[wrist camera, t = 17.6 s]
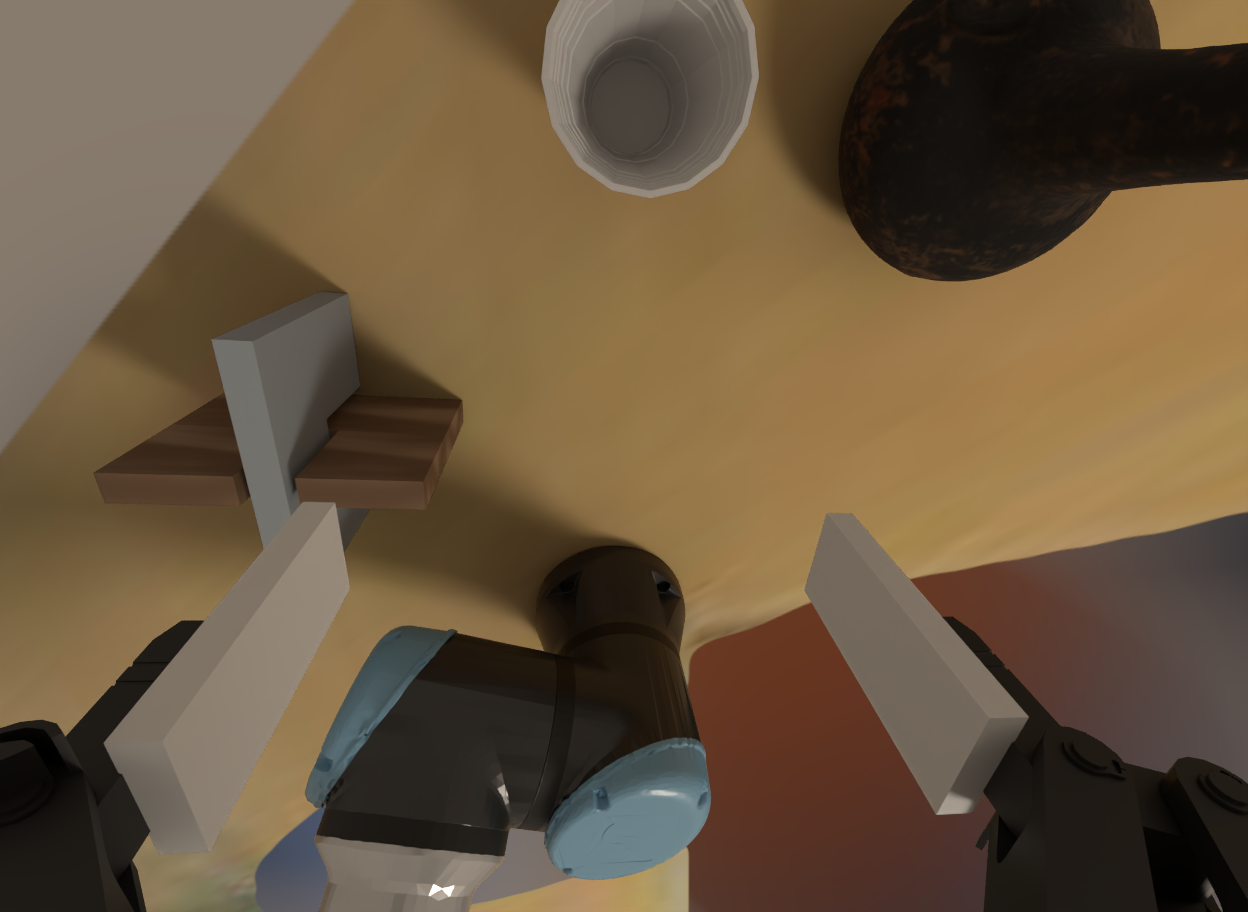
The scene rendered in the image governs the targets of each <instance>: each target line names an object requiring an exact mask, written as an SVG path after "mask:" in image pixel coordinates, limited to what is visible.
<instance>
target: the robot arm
mask: <svg viewBox="0 0 1248 912" xmlns="http://www.w3.org/2000/svg"><path fill="white" fill-rule="evenodd" d="M349 589H350V586H349V580H348V574H347V569H346V563H345V557H344V551H343V545H342V539H341V534H340V528H339V522H338V516H337V510H336V504H335V502H302V504H301V505H300V506H299V507H298V508H297V510H296V511H295V512H294V513H293V514H292V516H291V517H290V518H289V519H288V520H287V522H286V523H285V524H284V525H283V527H282V528H281V529H280V530H279V531H278V533H277V534H276V535H275V536H274V537H273V539H272V540H271V541H270V542H269V543H268V545H267V546H266V547H265V548H264V550H263V551H262V552H261V553H260V554H259V556H258V557H257V558H256V559H255V560H254V562H253V563H252V564H251V565H250V566H249V568H248V569H247V570H246V571H245V572H244V574H243V575H242V576H241V577H240V579H239V580H238V581H237V582H236V583H235V585H234V586H233V587H232V588H231V589H230V591H229V592H228V593H227V594H226V595H225V597H224V598H223V599H222V600H221V602H220V603H219V604H218V605H217V606H216V608H215V609H214V610H213V611H212V612H211V614H210V615H209V616H208V617H207V618H206V620H205V621H180V622H179V623H178V624H176V625H175V626H173V627H172V628H170V629H169V630H167V631H166V632H164V633H163V634H161V635H160V636H158V637H157V638H155V639H154V640H153V641H152V642H151V643H150V644H149V645H148V646H147V647H146V648H145V649H144V651H143V652H142V653H141V654H140V655H139V656H138V657H137V658H136V659H135V660H134V662H133V665H132V667H128V668H127V669H126V670H125V672H124V673H123V674H122V675H121V676H120V677H119V678H118V679H117V680H116V684H115V686H111V687H110V688H109V689H108V690H107V691H106V693H105V694H104V695H103V696H102V697H101V698H100V699H99V700H98V701H97V702H96V704H95V705H94V706H93V707H92V708H91V709H90V710H89V711H88V712H87V714H86V715H85V716H84V717H83V718H82V719H81V720H80V721H79V722H78V723H77V725H76V726H75V727H74V728H73V729H72V730H71V731H70V732H69V733H68V735H67V736H66V737H65V736H64V734H63V732H62V731H61V729H60V728H59V726H58V725H57V724H56V723H52V722H49V721H45V720H35V721H25V722H19V723H15V724H12V725H9V726H6V727H3V728H0V912H146V907H145V903H144V898H143V894H142V889H141V885H140V880H139V875H138V871H137V868H136V866H135V865H134V863H133V861H132V859H133V858H134V856H135V855H136V853H137V852H138V850H139V848H140V847H141V845H142V844H143V842H144V841H145V839H146V837H147V836H148V834H149V835H150V837H151V839H152V841H153V843H154V845H155V847H156V849H157V851H158V853H159V855H160V854H179V853H199V852H210V850H211V848H212V846H213V845H214V843H215V841H216V839H217V837H218V835H219V833H220V831H221V830H222V828H223V826H224V824H225V822H226V820H227V818H228V816H229V815H230V813H231V811H232V809H233V807H234V805H235V803H236V801H237V800H238V798H239V796H240V794H241V792H242V790H243V788H244V786H245V785H246V783H247V781H248V779H249V777H250V775H251V773H252V771H253V770H254V768H255V766H256V764H257V762H258V760H259V758H260V756H261V755H262V753H263V751H264V749H265V747H266V745H267V743H268V741H269V740H270V738H271V736H272V734H273V732H274V730H275V728H276V726H277V725H278V723H279V721H280V719H281V717H282V715H283V713H284V711H285V710H286V708H287V706H288V704H289V702H290V700H291V698H292V696H293V695H294V693H295V691H296V689H297V687H298V685H299V683H300V681H301V679H302V678H303V676H304V674H305V672H306V670H307V668H308V666H309V664H310V663H311V661H312V659H313V657H314V655H315V653H316V651H317V649H318V648H319V646H320V644H321V642H322V640H323V638H324V636H325V634H326V633H327V631H328V629H329V627H330V625H331V623H332V621H333V619H334V618H335V616H336V614H337V612H338V610H339V608H340V606H341V604H342V603H343V601H344V599H345V597H346V595H347V593H348V591H349ZM805 592H806V594H807V595H808V597H809V599H810V600H811V602H812V604H813V606H814V607H815V609H816V611H817V612H818V614H819V616H820V618H821V619H822V621H823V623H824V624H825V626H826V628H827V629H828V631H829V633H830V635H831V636H832V638H833V640H834V641H835V643H836V645H837V646H838V648H839V649H840V651H841V653H842V655H843V657H844V658H845V660H846V662H847V663H848V665H849V667H850V668H851V670H852V672H853V674H854V675H855V677H856V679H857V680H858V682H859V684H860V685H861V687H862V689H863V691H864V692H865V694H866V696H867V697H868V699H869V701H870V702H871V704H872V706H873V708H874V709H875V711H876V713H877V715H878V716H879V718H880V719H881V721H882V723H883V725H884V726H885V728H886V730H887V731H888V733H889V735H890V736H891V738H892V740H893V742H894V743H895V745H896V747H897V749H898V750H899V752H900V754H901V755H902V757H903V759H904V760H905V762H906V764H907V766H908V767H909V769H910V771H911V772H912V774H913V776H914V777H915V779H916V781H917V783H918V784H919V786H920V788H921V789H922V791H923V793H924V794H925V796H926V798H927V800H928V801H929V803H930V805H931V806H932V808H933V810H934V812H935V813H936V815H940V814H960V813H972V812H973V810H974V809H975V807H976V805H977V804H978V802H979V800H980V798H981V797H982V795H983V794H985V795H986V796H987V798H988V799H989V801H990V802H991V804H992V805H993V807H994V808H995V810H996V812H995V813H994V815H993V816H992V818H991V820H990V821H989V823H988V824H987V826H986V828H985V829H984V831H983V832H982V834H981V836H980V837H979V839H978V842H977V844H976V847H977V848H979V849H981V850H982V849H983V848H984V846H985V845H986V843H987V842H988V841H989V844H988V858H987V872H986V886H985V899H984V912H1221V910H1220V909H1219V907H1218V905H1217V904H1216V902H1215V900H1214V898H1213V896H1212V893H1213V892H1214V891H1215V893H1216V895H1217V897H1218V899H1219V901H1220V904H1221V907H1222V909H1223V912H1248V784H1247V783H1246V782H1245V781H1244V780H1242V779H1241V778H1239V777H1238V776H1236V775H1235V774H1232V773H1231V772H1229V771H1227V770H1225V769H1224V768H1222V767H1220V766H1217V765H1215V764H1212V763H1210V762H1208V761H1205V760H1202V759H1197V758H1191V757H1185V758H1181V759H1178V760H1177V761H1176V762H1175V763H1174V764H1173V766H1172V767H1171V768H1170V769H1169V771H1168V772H1167V773H1163V772H1159V771H1155V770H1151V769H1147V768H1142V767H1139V766H1135V765H1131V764H1127V763H1124V762H1123V761H1122V760H1121V758H1120V757H1119V756H1118V755H1117V754H1116V753H1115V752H1113V751H1112V750H1111V749H1110V748H1108V747H1107V746H1106V745H1105V744H1103V743H1102V742H1101V741H1099V740H1097V739H1095V738H1094V737H1092V736H1090V735H1088V734H1087V733H1085V732H1082V731H1079V730H1076V729H1073V728H1070V727H1062V726H1060V725H1059V724H1058V723H1057V722H1056V721H1055V720H1054V718H1053V717H1052V716H1051V715H1050V714H1049V713H1048V712H1047V711H1046V710H1045V709H1044V707H1043V706H1042V705H1041V704H1040V703H1039V702H1038V701H1037V700H1036V699H1035V698H1034V697H1033V695H1032V694H1031V693H1030V692H1029V691H1028V690H1027V689H1026V688H1025V687H1024V686H1023V684H1021V682H1020V681H1019V680H1018V679H1017V678H1016V677H1015V676H1014V675H1013V674H1012V672H1010V670H1006V668H1005V665H1004V664H1003V663H1002V661H1000V659H999V658H998V657H997V656H996V655H995V654H992V651H991V649H990V648H989V647H988V646H987V645H986V644H985V643H984V642H983V641H982V640H981V639H980V637H979V636H978V635H977V634H976V633H975V632H974V631H972V630H971V629H969V628H968V627H967V626H965V625H964V624H962V623H961V622H959V621H958V620H957V619H955V618H954V617H942V616H941V615H940V614H939V613H938V612H937V611H936V609H934V607H933V606H932V605H931V604H930V603H929V601H928V600H927V599H926V598H925V597H924V596H923V594H921V592H920V591H919V590H918V589H917V588H916V587H915V585H914V584H913V583H912V582H911V581H910V580H909V578H908V577H907V576H906V575H905V574H904V573H903V571H902V570H901V569H900V568H899V567H898V566H897V565H896V563H895V562H894V561H893V560H892V559H891V558H890V557H889V555H888V554H887V553H886V552H885V551H884V550H883V548H882V547H881V546H880V545H879V544H878V543H877V542H876V540H875V539H874V538H873V537H872V536H871V535H870V533H869V532H868V531H867V530H866V529H865V528H864V527H863V525H862V524H861V523H860V522H859V521H858V520H857V519H856V517H855V516H854V515H853V514H845V513H827V514H826V517H825V521H824V524H823V528H822V531H821V535H820V538H819V542H818V545H817V548H816V552H815V555H814V559H813V562H812V566H811V569H810V573H809V576H808V579H807V583H806V586H805ZM684 622H685V603H684V599H683V595H682V592H681V588H680V585H679V582H678V580H677V578H676V576H675V574H674V573H673V572H672V570H671V569H670V568H669V567H668V566H667V565H666V564H665V563H664V562H663V561H661V560H660V559H658V558H657V557H655V556H653V555H651V554H649V553H647V552H644V551H642V550H638V549H635V548H630V547H622V546H608V547H599V548H594V549H590V550H586V551H583V552H581V553H578V554H576V555H574V556H572V557H570V558H568V559H567V560H565V561H564V562H562V563H561V564H559V565H558V566H557V567H556V568H555V569H554V570H553V571H552V572H551V573H550V574H549V575H548V576H547V578H546V579H545V581H544V582H543V584H542V586H541V588H540V591H539V594H538V598H537V607H536V627H537V632H538V636H539V639H540V641H541V644H542V646H543V649H544V651H540V650H535V649H530V648H525V647H521V646H516V645H511V644H506V643H502V642H497V641H492V640H487V639H483V638H478V637H473V636H468V635H464V634H459V633H457V630H454V629H450V630H448V631H443V630H437V629H430V628H424V627H417V626H401V627H397V628H395V629H393V630H391V631H390V632H388V633H387V634H386V635H385V636H383V637H382V639H381V640H380V641H379V642H378V643H377V645H376V646H375V647H374V649H373V650H372V652H371V653H370V655H369V657H368V658H367V660H366V662H365V663H364V665H363V666H362V668H361V670H360V672H359V674H358V675H357V677H356V679H355V681H354V683H353V684H352V686H351V688H350V690H349V692H348V694H347V696H346V698H345V700H344V702H343V704H342V705H341V707H340V709H339V711H338V714H337V716H336V718H335V720H334V722H333V724H332V726H331V728H330V730H329V732H328V734H327V737H326V739H325V741H324V743H323V746H322V752H321V753H320V754H319V757H318V759H317V762H316V764H315V766H314V768H313V770H312V772H311V774H310V777H309V779H308V782H307V786H306V790H305V796H306V798H307V800H308V801H309V802H311V803H313V805H314V806H315V807H316V808H320V807H323V806H324V805H325V804H326V808H325V811H324V814H323V817H322V820H321V823H320V825H319V828H318V831H317V834H316V837H315V840H314V842H315V844H316V846H317V849H318V851H319V853H320V855H321V857H322V859H323V862H324V864H325V866H326V868H327V874H328V884H327V887H326V890H325V893H324V896H323V899H322V902H321V905H320V908H319V911H318V912H469V909H470V904H471V899H472V895H473V893H474V892H475V890H476V889H477V887H478V886H479V884H480V883H482V882H483V881H484V880H485V879H486V878H487V877H488V876H489V875H490V874H491V873H492V872H493V871H494V870H495V869H496V868H497V867H498V866H500V865H501V864H502V863H503V860H504V855H505V850H506V843H507V839H508V833H509V830H510V828H517V829H525V830H533V831H540V832H545V840H544V844H545V846H546V849H547V852H548V855H549V858H550V860H551V862H552V864H553V865H554V866H555V867H556V868H557V869H562V870H563V872H564V873H566V874H567V875H569V876H572V877H575V878H580V879H587V880H604V879H613V878H619V877H624V876H628V875H632V874H636V873H639V872H642V871H644V870H647V869H650V868H652V867H654V866H656V865H658V864H659V863H662V862H664V861H666V860H668V859H669V858H671V857H673V856H674V855H675V854H677V853H678V852H680V851H681V850H682V849H684V848H685V847H686V846H687V845H688V844H689V843H690V842H691V841H692V840H693V839H694V838H695V836H696V835H697V834H698V833H699V831H700V830H701V828H702V827H703V825H704V823H705V821H706V819H707V816H708V813H709V809H710V802H711V794H710V787H709V780H708V773H707V768H706V760H705V759H706V752H705V749H704V747H703V745H702V743H701V741H700V737H699V733H698V729H697V725H696V721H695V716H694V713H693V708H692V704H691V700H690V696H689V693H688V688H687V684H686V680H685V676H684V672H683V668H682V665H681V661H680V656H679V652H680V646H681V640H682V634H683V628H684Z"/></svg>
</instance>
